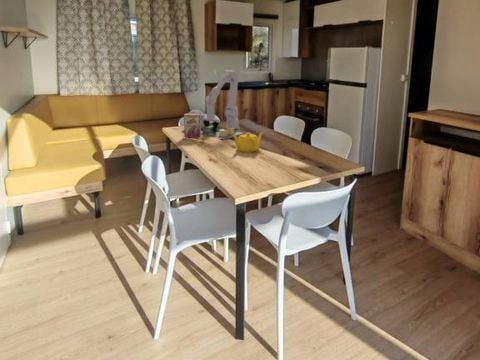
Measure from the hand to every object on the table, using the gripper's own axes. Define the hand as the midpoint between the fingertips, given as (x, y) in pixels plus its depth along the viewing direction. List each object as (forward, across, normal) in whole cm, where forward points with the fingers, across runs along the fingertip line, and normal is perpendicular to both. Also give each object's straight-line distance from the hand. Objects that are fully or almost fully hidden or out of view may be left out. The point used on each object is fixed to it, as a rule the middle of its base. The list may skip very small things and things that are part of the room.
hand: (211, 131), depth 286 cm
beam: (+1, 0, 0) cm, 1 cm away
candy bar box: (+2, -1, -18) cm, 18 cm away
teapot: (+2, +51, -22) cm, 56 cm away
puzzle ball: (+2, -19, +4) cm, 19 cm away
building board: (+2, +8, 0) cm, 8 cm away
